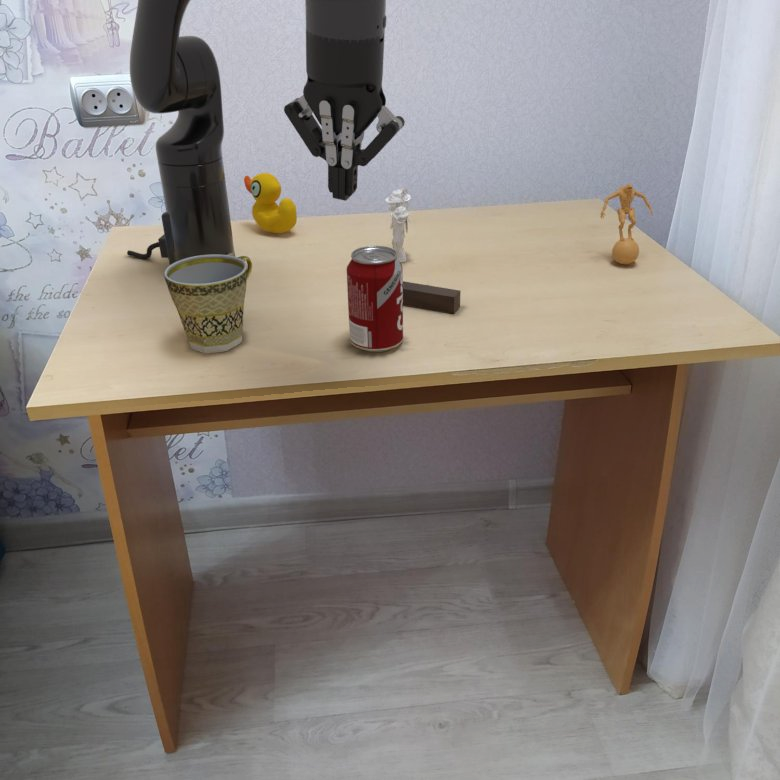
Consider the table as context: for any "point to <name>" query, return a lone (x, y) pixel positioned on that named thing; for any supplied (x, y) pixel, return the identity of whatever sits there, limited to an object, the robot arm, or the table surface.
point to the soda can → (375, 298)
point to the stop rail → (431, 297)
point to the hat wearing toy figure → (399, 220)
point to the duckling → (270, 204)
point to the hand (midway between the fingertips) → (342, 196)
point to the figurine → (624, 248)
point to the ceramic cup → (210, 299)
